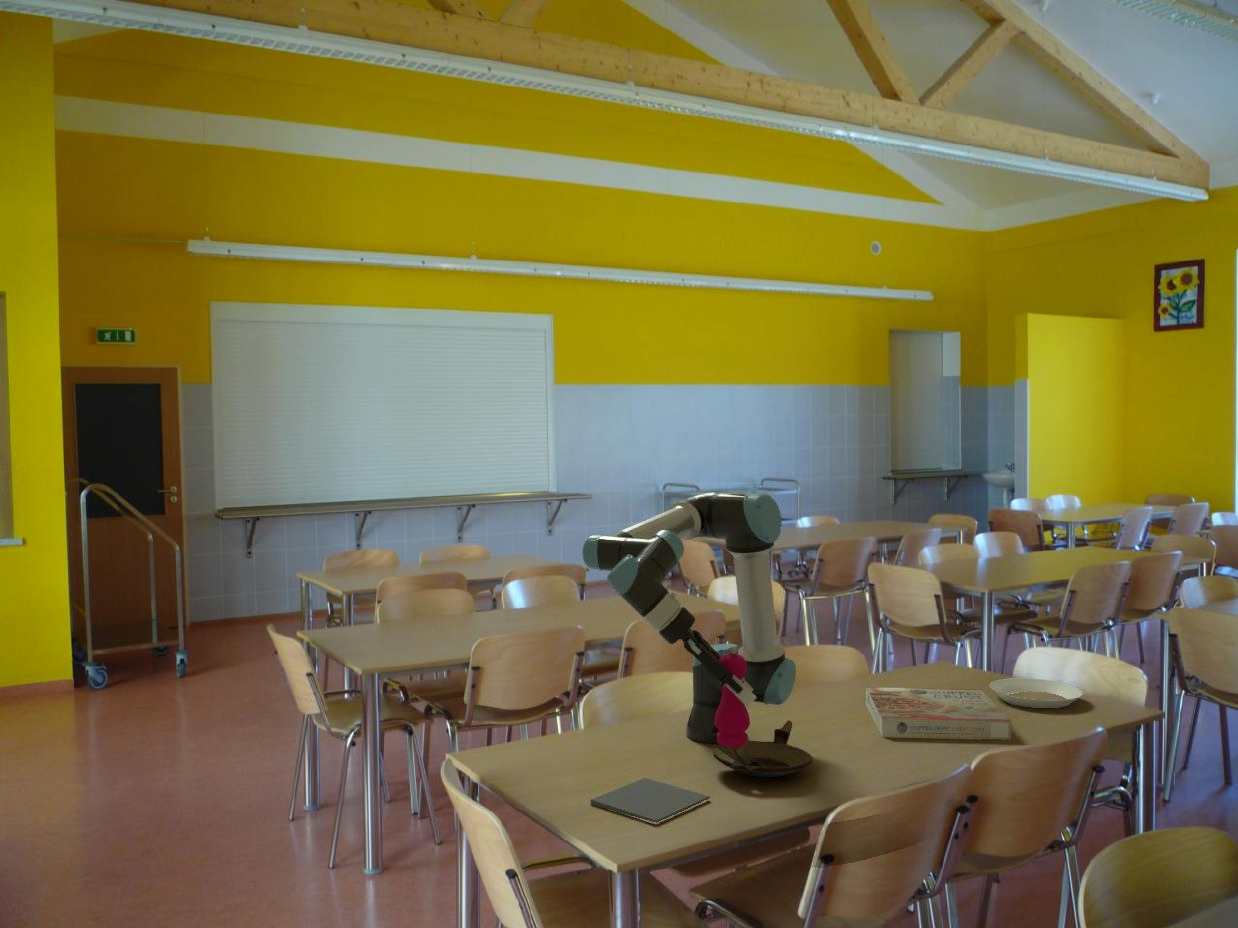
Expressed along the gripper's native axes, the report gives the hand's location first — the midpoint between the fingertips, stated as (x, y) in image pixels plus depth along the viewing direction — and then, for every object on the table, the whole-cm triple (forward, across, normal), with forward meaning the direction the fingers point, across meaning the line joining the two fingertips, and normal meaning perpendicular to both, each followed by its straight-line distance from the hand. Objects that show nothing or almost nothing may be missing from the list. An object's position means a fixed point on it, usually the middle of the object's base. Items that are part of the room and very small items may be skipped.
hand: (750, 697), depth 218 cm
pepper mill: (+4, 0, +9) cm, 10 cm away
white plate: (+82, +89, -47) cm, 130 cm away
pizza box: (+58, +68, -22) cm, 92 cm away
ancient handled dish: (+23, +27, +12) cm, 37 cm away
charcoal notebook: (+3, +6, +32) cm, 32 cm away
